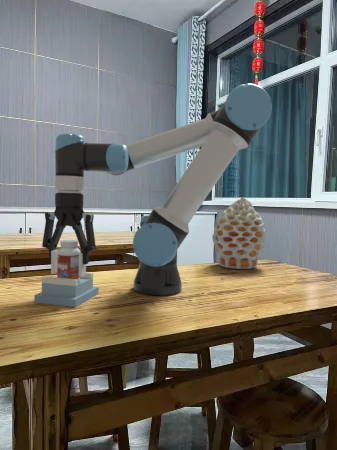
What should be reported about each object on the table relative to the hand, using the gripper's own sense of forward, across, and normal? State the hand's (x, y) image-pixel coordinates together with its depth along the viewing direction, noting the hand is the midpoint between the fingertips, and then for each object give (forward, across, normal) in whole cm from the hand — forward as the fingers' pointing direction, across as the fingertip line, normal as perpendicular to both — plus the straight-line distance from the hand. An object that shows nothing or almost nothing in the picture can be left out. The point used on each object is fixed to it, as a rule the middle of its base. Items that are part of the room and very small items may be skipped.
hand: (68, 274), depth 102 cm
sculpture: (+7, -43, -67) cm, 80 cm away
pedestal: (+7, 0, 0) cm, 7 cm away
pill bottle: (+2, 0, 0) cm, 2 cm away
